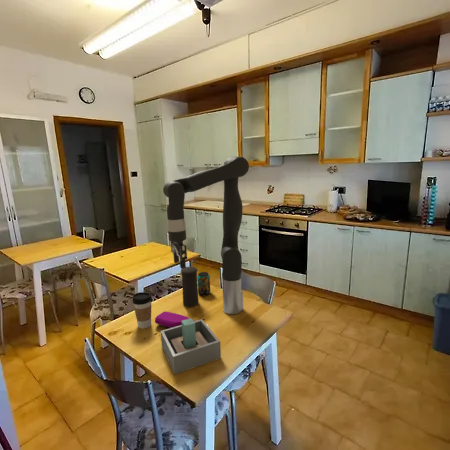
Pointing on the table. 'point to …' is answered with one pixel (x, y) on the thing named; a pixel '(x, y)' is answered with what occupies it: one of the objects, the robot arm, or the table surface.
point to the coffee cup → (142, 309)
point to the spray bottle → (170, 319)
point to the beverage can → (203, 283)
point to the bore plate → (178, 343)
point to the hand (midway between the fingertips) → (179, 265)
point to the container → (189, 286)
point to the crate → (194, 355)
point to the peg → (188, 333)
